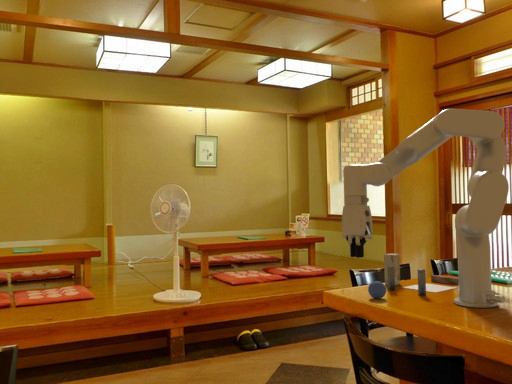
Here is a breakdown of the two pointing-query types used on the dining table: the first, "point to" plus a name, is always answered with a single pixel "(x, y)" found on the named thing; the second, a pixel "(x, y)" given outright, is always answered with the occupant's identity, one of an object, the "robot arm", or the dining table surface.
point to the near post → (421, 282)
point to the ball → (377, 289)
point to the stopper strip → (444, 279)
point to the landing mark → (432, 288)
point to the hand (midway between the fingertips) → (357, 256)
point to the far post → (391, 278)
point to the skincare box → (392, 261)
